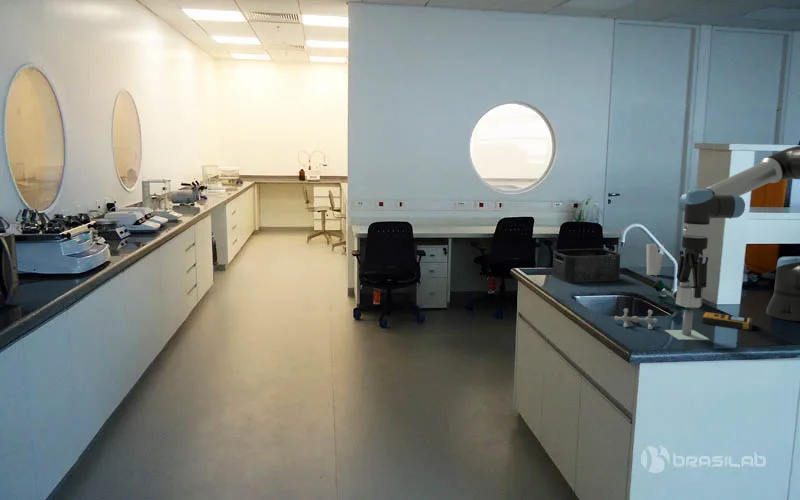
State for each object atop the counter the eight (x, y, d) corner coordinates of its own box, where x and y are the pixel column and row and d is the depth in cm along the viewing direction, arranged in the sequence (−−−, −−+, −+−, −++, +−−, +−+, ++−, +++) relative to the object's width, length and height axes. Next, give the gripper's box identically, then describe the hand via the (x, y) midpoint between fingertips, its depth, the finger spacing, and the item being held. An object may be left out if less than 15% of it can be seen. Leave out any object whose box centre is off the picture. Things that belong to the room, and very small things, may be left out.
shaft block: (693, 331, 202) (695, 307, 200) (709, 340, 192) (711, 315, 191) (664, 331, 202) (666, 307, 200) (679, 340, 192) (681, 315, 190)
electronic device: (703, 319, 219) (704, 310, 218) (752, 326, 210) (753, 317, 210) (701, 324, 212) (701, 315, 211) (751, 331, 203) (752, 322, 203)
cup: (645, 276, 295) (648, 245, 293) (642, 272, 303) (644, 243, 301) (663, 276, 293) (666, 246, 291) (660, 273, 301) (662, 244, 299)
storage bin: (566, 283, 278) (568, 255, 275) (549, 275, 296) (550, 249, 294) (621, 281, 282) (623, 254, 280) (601, 273, 301) (603, 248, 299)
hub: (693, 302, 199) (695, 285, 198) (704, 307, 192) (706, 289, 191) (672, 301, 199) (674, 284, 198) (683, 307, 191) (684, 289, 190)
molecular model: (612, 331, 215) (617, 330, 205) (611, 310, 216) (616, 308, 206) (654, 330, 212) (661, 329, 202) (652, 309, 213) (659, 307, 204)
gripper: (669, 232, 201) (663, 296, 205) (700, 240, 181) (693, 311, 185) (690, 232, 201) (684, 297, 205) (723, 240, 182) (716, 312, 185)
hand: (688, 304), depth 195 cm, fingers closed on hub, 7 cm apart
